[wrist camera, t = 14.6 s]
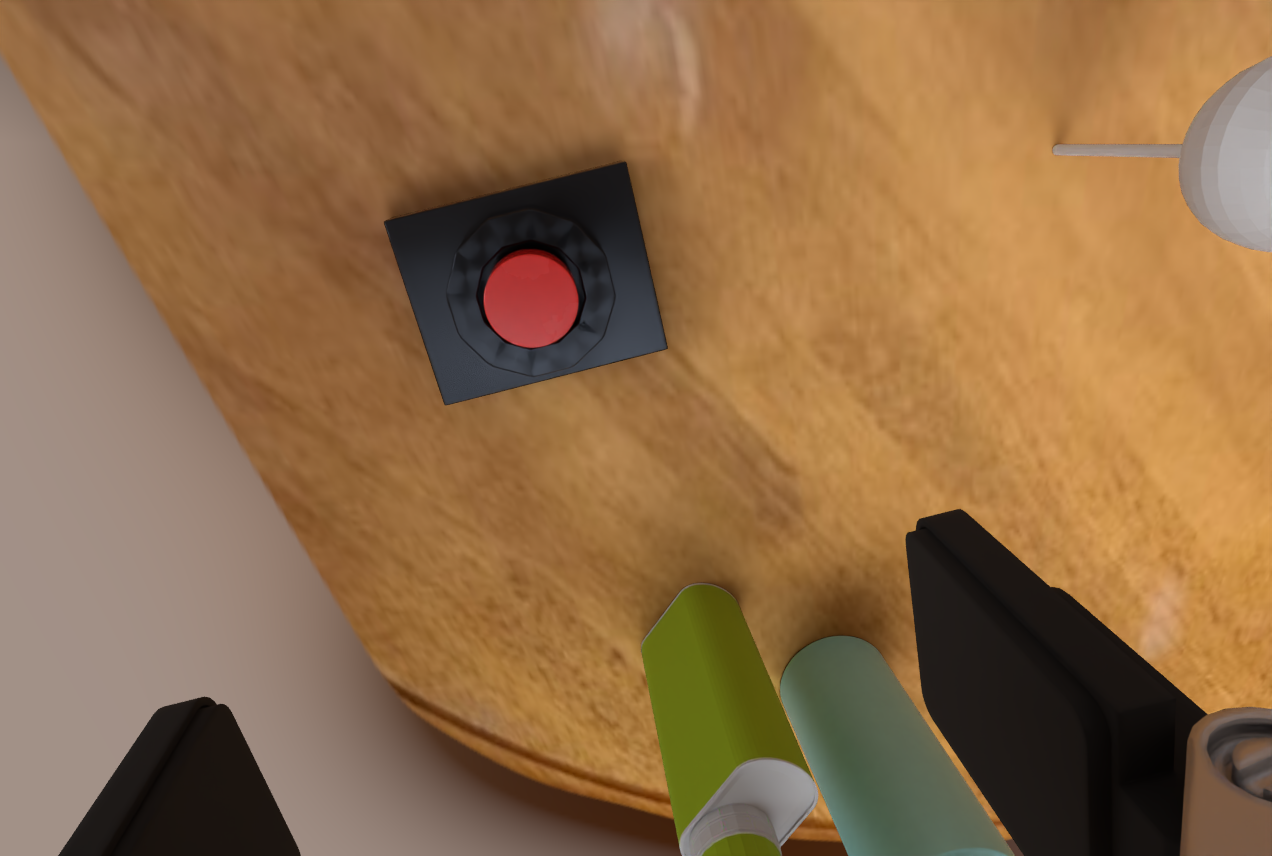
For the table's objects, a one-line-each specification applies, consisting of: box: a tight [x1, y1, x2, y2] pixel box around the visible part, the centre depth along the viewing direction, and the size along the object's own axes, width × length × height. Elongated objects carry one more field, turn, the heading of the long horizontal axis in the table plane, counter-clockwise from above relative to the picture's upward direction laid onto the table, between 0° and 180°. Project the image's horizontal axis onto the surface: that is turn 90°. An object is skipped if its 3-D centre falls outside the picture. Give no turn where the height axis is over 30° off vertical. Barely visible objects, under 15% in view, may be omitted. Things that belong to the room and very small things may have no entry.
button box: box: [384, 161, 668, 405], centre depth 34 cm, size 10×8×4 cm
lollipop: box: [1053, 56, 1272, 252], centre depth 29 cm, size 6×6×15 cm
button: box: [483, 249, 579, 348], centre depth 32 cm, size 4×4×2 cm
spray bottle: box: [780, 636, 1015, 856], centre depth 35 cm, size 6×6×20 cm
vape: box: [641, 583, 818, 856], centre depth 33 cm, size 4×6×20 cm, turn 146°
